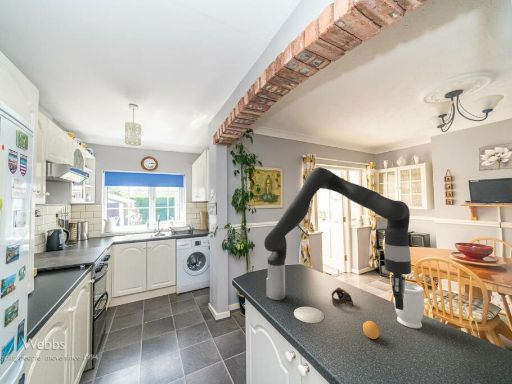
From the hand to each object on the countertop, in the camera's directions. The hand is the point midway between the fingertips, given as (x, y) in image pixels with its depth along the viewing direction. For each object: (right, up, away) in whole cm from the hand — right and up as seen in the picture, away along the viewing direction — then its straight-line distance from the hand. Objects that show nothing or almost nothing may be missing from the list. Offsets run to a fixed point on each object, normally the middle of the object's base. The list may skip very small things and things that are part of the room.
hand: (399, 308), depth 71 cm
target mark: (-26, -14, +21) cm, 36 cm away
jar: (+14, -14, +14) cm, 24 cm away
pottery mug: (-7, -15, +30) cm, 35 cm away
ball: (-7, -11, +5) cm, 14 cm away
